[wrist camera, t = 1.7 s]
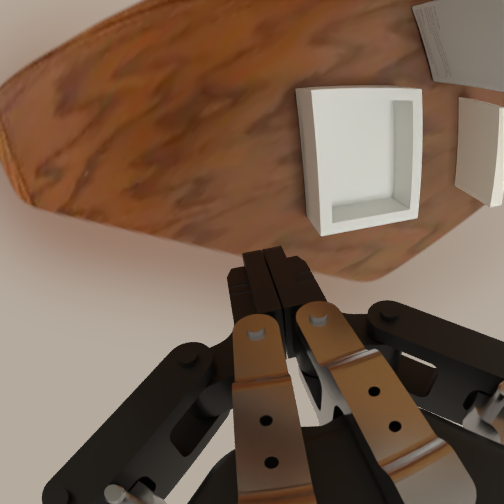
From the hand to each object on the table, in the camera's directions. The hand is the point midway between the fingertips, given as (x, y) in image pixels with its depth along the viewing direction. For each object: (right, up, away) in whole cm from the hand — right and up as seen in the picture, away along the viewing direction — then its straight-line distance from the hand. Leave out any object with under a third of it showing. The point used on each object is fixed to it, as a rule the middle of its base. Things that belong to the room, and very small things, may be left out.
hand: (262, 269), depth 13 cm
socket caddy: (+9, +10, +14) cm, 19 cm away
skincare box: (+18, +21, +9) cm, 29 cm away
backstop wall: (+22, +12, +15) cm, 30 cm away
